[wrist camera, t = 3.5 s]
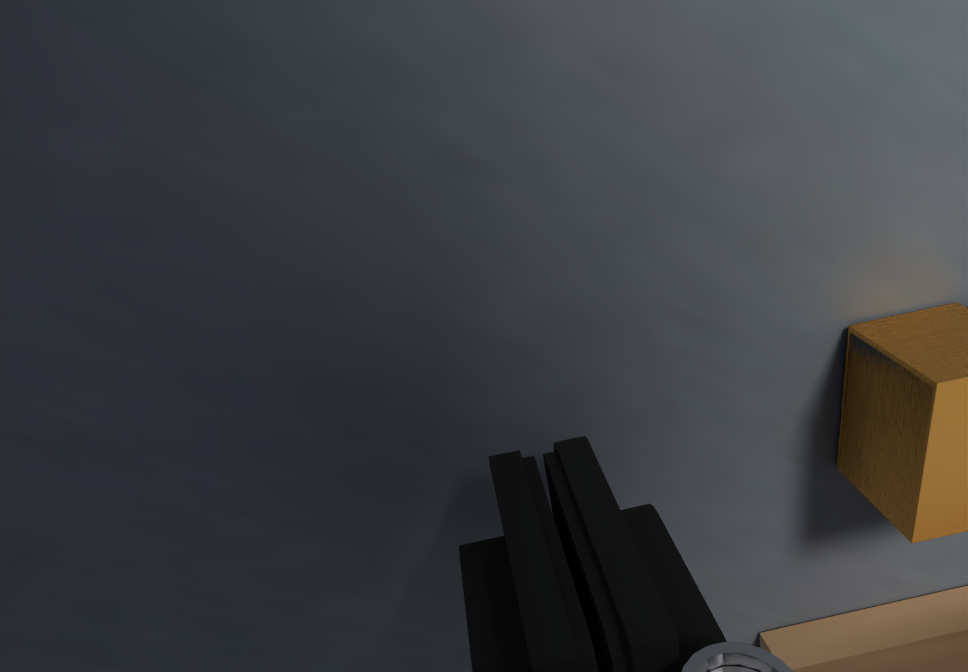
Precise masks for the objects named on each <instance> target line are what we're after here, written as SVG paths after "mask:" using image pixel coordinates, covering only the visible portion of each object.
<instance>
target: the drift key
mask: <svg viewBox="0 0 968 672" xmlns="http://www.w3.org/2000/svg"><path fill="white" fill-rule="evenodd" d="M837 469H838V470H839V471H840V472H841V473H842V474H843V475H844V476H845V477H846V478H847V479H848V480H849V481H850V482H851V483H852V484H853V485H854V486H855V487H856V488H857V489H858V490H859V491H860V492H861V493H862V494H863V495H864V496H865V497H866V498H867V499H868V500H869V501H870V502H871V503H872V504H873V505H874V506H875V507H876V508H877V509H878V510H879V511H880V512H881V513H882V514H883V515H884V516H885V517H886V518H887V519H888V520H889V521H890V522H891V523H892V524H893V525H894V526H895V527H896V528H897V529H898V530H899V531H900V532H901V533H902V534H903V535H904V536H905V537H906V538H907V539H908V540H909V541H910V542H911V543H916V542H920V541H925V540H929V539H934V538H938V537H943V536H947V535H951V534H956V533H960V532H965V531H968V307H965V306H963V305H961V304H958V303H952V304H947V305H943V306H938V307H933V308H929V309H924V310H919V311H915V312H910V313H905V314H901V315H896V316H891V317H887V318H882V319H877V320H873V321H868V322H863V323H859V324H854V325H849V328H848V340H847V352H846V364H845V376H844V388H843V400H842V412H841V424H840V436H839V448H838V460H837Z"/></svg>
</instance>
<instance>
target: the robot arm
mask: <svg viewBox="0 0 968 672" xmlns="http://www.w3.org/2000/svg"><path fill="white" fill-rule="evenodd" d="M543 457H544V464H545V470H546V476H547V482H548V488H549V494H550V500H551V506H552V512H553V515H552V512H551V509H550V506H549V502H548V499H547V496H546V493H545V490H544V487H543V483H542V480H541V477H540V474H539V471H538V467H537V464H536V461H535V458H534V456H531V457H526V458H522V457H521V453H520V451H519V450H518V451H513V452H508V453H504V454H499V455H494V456H490V457H488V458H489V463H490V468H491V473H492V477H493V482H494V487H495V492H496V497H497V502H498V507H499V512H500V516H501V521H502V526H503V531H504V536H501V537H496V538H492V539H487V540H483V541H478V542H474V543H469V544H465V545H460V546H459V552H460V563H461V571H462V580H463V589H464V598H465V607H466V616H467V625H468V634H469V643H470V652H471V661H472V670H473V672H794V671H793V670H791V669H790V668H789V667H788V666H787V665H786V664H785V663H784V662H783V661H782V660H781V659H779V658H778V657H776V656H774V655H773V654H771V653H769V652H767V651H766V650H764V649H762V648H758V647H755V646H752V645H749V644H746V643H736V642H727V641H726V639H725V637H724V635H723V633H722V632H721V630H720V628H719V626H718V624H717V622H716V620H715V619H714V617H713V615H712V613H711V611H710V609H709V607H708V605H707V604H706V602H705V600H704V598H703V596H702V594H701V592H700V591H699V589H698V587H697V585H696V583H695V581H694V579H693V578H692V576H691V574H690V572H689V570H688V568H687V566H686V565H685V563H684V561H683V559H682V557H681V555H680V553H679V552H678V550H677V548H676V546H675V544H674V542H673V540H672V538H671V537H670V535H669V533H668V531H667V529H666V527H665V525H664V524H663V522H662V520H661V518H660V516H659V514H658V513H657V511H656V509H655V508H654V506H652V505H651V504H647V505H642V506H637V507H633V508H628V509H624V510H620V509H619V506H618V504H617V502H616V500H615V498H614V496H613V493H612V491H611V489H610V487H609V485H608V483H607V480H606V478H605V476H604V474H603V472H602V470H601V467H600V465H599V463H598V461H597V459H596V457H595V454H594V452H593V450H592V448H591V446H590V444H589V441H588V439H587V438H586V437H585V436H582V437H578V438H573V439H568V440H564V441H559V442H555V443H554V452H549V453H545V454H543Z"/></svg>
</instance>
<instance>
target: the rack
mask: <svg viewBox="0 0 968 672" xmlns="http://www.w3.org/2000/svg"><path fill="white" fill-rule="evenodd" d="M760 648H762V649H764V650H766V651H767V652H769V653H771V654H773V655H774V656H776V657H778V658H779V659H781V660H782V661H783V662H784V663H785V664H786V665H787V666H788V667H789V668H790V669H791V670H793V671H794V672H968V586H963V587H959V588H955V589H950V590H946V591H941V592H937V593H933V594H928V595H924V596H920V597H915V598H911V599H906V600H902V601H898V602H893V603H889V604H884V605H880V606H876V607H871V608H867V609H862V610H858V611H854V612H849V613H845V614H841V615H836V616H832V617H827V618H823V619H819V620H814V621H810V622H805V623H801V624H797V625H792V626H788V627H783V628H779V629H775V630H770V631H766V632H762V633H760Z"/></svg>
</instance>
